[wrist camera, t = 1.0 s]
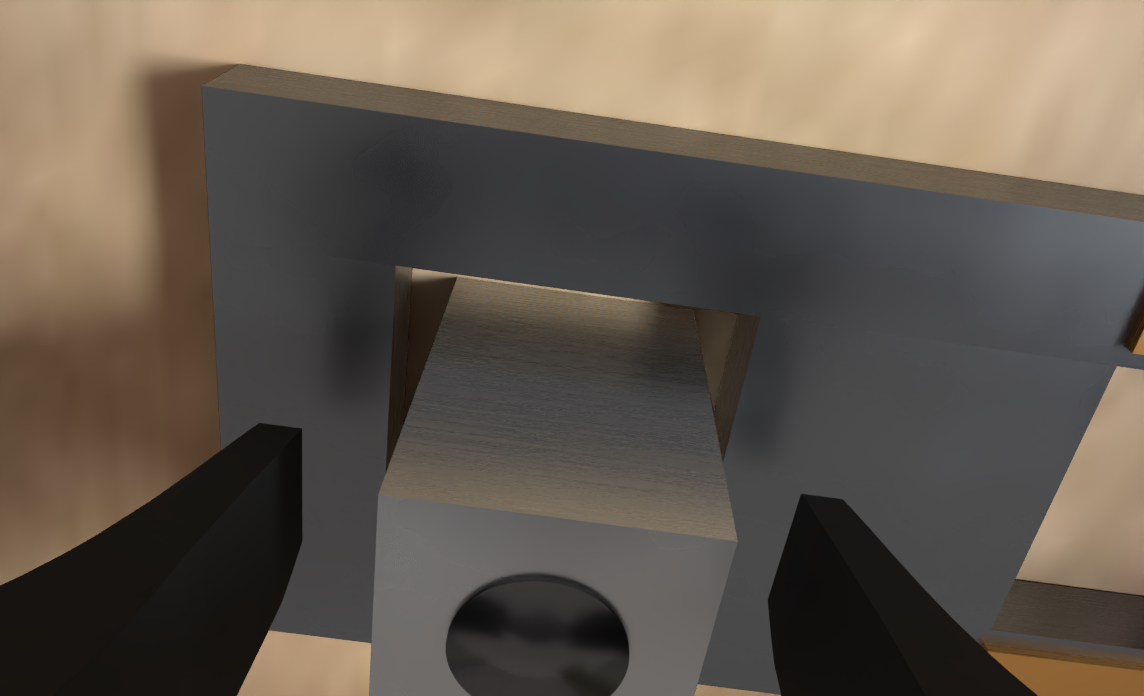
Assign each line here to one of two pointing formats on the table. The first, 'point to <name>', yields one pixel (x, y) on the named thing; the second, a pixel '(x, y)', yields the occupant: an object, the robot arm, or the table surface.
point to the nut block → (552, 504)
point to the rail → (704, 280)
